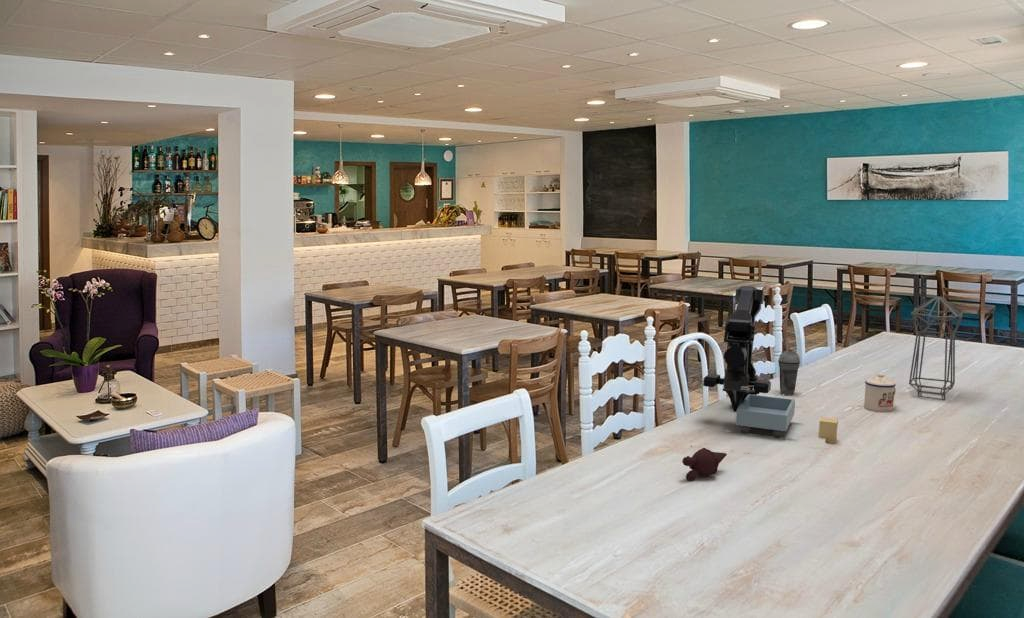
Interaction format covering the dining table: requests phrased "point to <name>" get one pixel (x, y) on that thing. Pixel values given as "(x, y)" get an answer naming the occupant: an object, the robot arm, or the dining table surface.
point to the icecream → (703, 463)
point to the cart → (765, 413)
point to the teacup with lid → (879, 393)
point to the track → (766, 435)
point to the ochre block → (828, 429)
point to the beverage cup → (788, 371)
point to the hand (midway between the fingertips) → (735, 411)
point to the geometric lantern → (951, 348)
